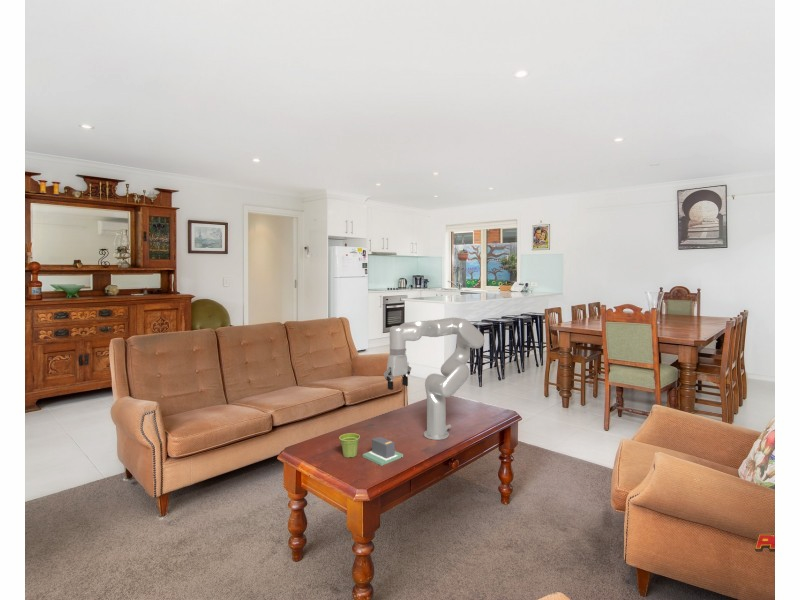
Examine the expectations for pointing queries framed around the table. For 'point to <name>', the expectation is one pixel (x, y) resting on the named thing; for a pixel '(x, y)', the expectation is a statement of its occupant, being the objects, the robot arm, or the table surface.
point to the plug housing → (383, 447)
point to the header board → (381, 458)
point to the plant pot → (349, 444)
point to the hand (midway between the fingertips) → (397, 387)
